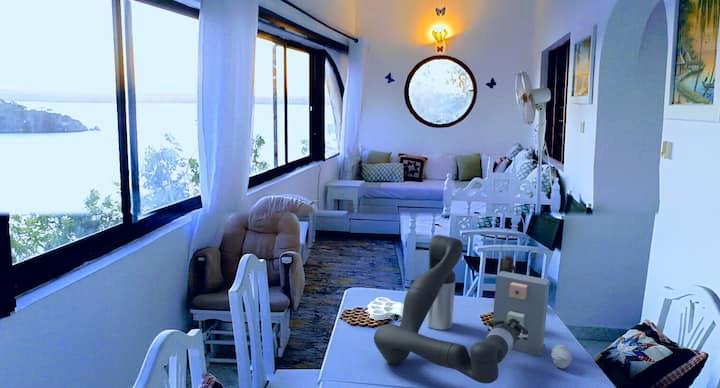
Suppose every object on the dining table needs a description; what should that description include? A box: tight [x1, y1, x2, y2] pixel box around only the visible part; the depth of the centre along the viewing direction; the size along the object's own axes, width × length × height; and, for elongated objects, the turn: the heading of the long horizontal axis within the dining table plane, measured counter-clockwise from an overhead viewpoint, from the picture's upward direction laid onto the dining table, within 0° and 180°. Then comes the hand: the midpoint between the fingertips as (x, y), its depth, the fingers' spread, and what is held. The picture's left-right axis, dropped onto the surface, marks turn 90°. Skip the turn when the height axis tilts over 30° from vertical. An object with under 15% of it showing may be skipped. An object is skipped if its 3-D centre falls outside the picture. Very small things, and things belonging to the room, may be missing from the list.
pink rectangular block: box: [509, 282, 528, 300], centre depth 169 cm, size 3×5×4 cm
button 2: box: [507, 311, 525, 327], centre depth 171 cm, size 3×5×4 cm
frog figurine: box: [550, 343, 573, 369], centre depth 163 cm, size 6×7×7 cm
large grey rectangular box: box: [492, 270, 551, 358], centre depth 175 cm, size 8×17×24 cm, turn 60°
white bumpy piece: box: [364, 296, 404, 322], centre depth 201 cm, size 3×18×15 cm
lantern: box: [498, 233, 518, 273], centre depth 211 cm, size 8×8×30 cm
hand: (514, 321), depth 169 cm, fingers closed
